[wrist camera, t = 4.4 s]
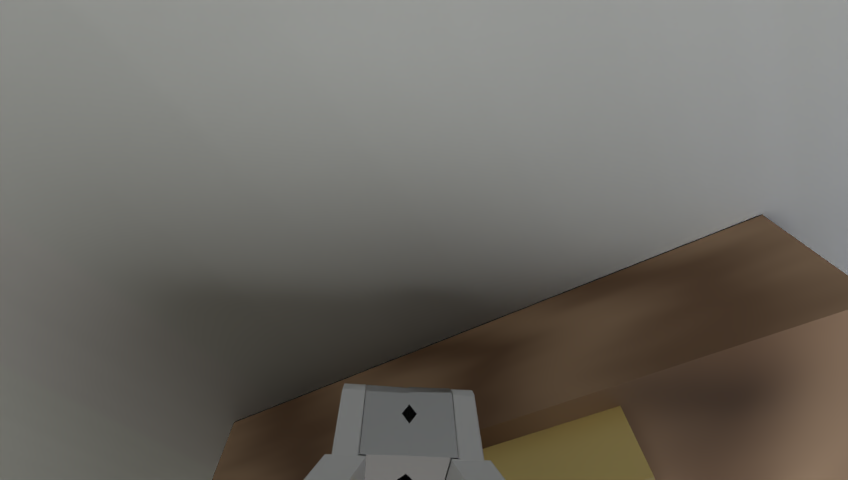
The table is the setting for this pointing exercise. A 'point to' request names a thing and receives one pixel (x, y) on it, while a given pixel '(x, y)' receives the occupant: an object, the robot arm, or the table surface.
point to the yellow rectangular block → (574, 451)
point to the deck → (635, 367)
